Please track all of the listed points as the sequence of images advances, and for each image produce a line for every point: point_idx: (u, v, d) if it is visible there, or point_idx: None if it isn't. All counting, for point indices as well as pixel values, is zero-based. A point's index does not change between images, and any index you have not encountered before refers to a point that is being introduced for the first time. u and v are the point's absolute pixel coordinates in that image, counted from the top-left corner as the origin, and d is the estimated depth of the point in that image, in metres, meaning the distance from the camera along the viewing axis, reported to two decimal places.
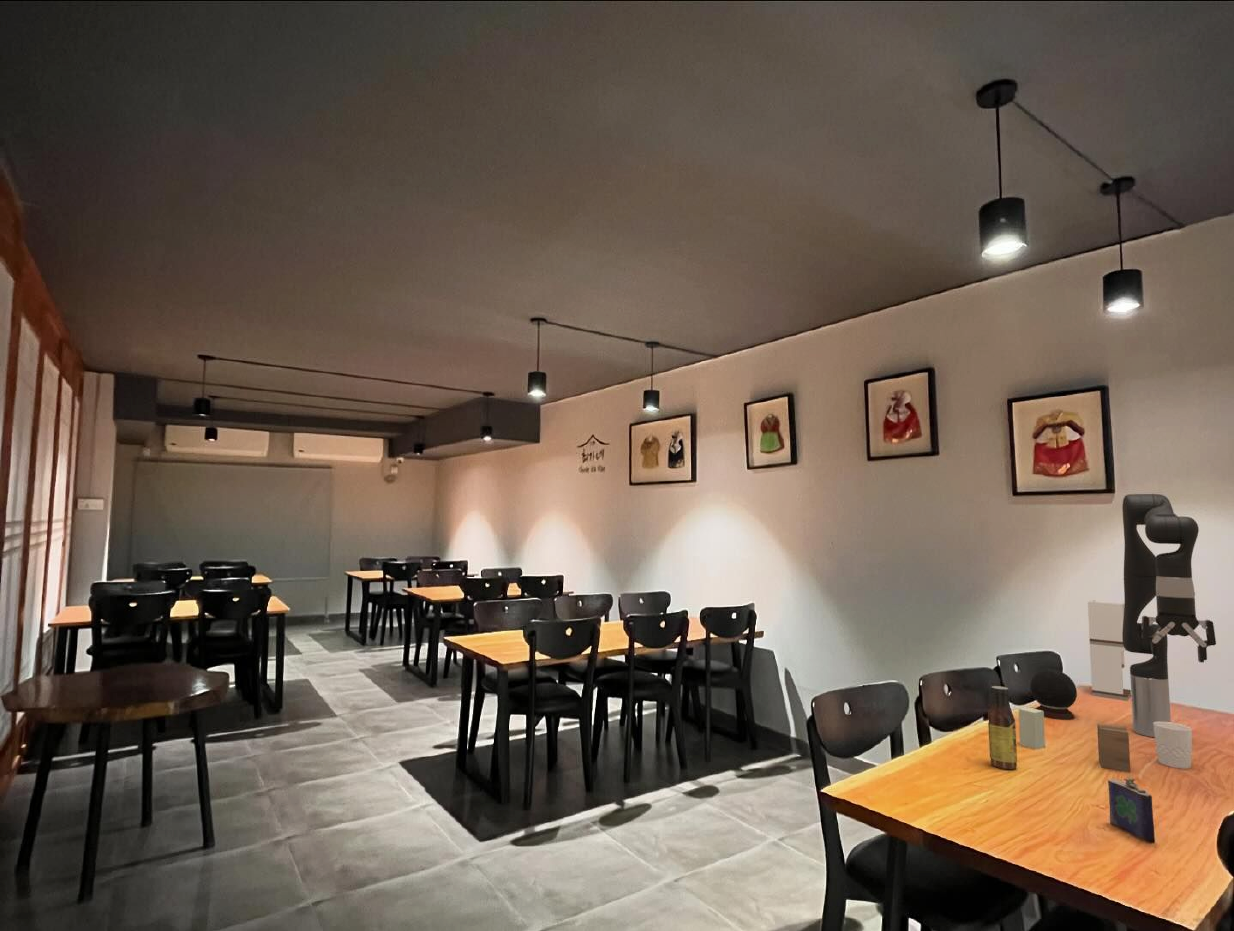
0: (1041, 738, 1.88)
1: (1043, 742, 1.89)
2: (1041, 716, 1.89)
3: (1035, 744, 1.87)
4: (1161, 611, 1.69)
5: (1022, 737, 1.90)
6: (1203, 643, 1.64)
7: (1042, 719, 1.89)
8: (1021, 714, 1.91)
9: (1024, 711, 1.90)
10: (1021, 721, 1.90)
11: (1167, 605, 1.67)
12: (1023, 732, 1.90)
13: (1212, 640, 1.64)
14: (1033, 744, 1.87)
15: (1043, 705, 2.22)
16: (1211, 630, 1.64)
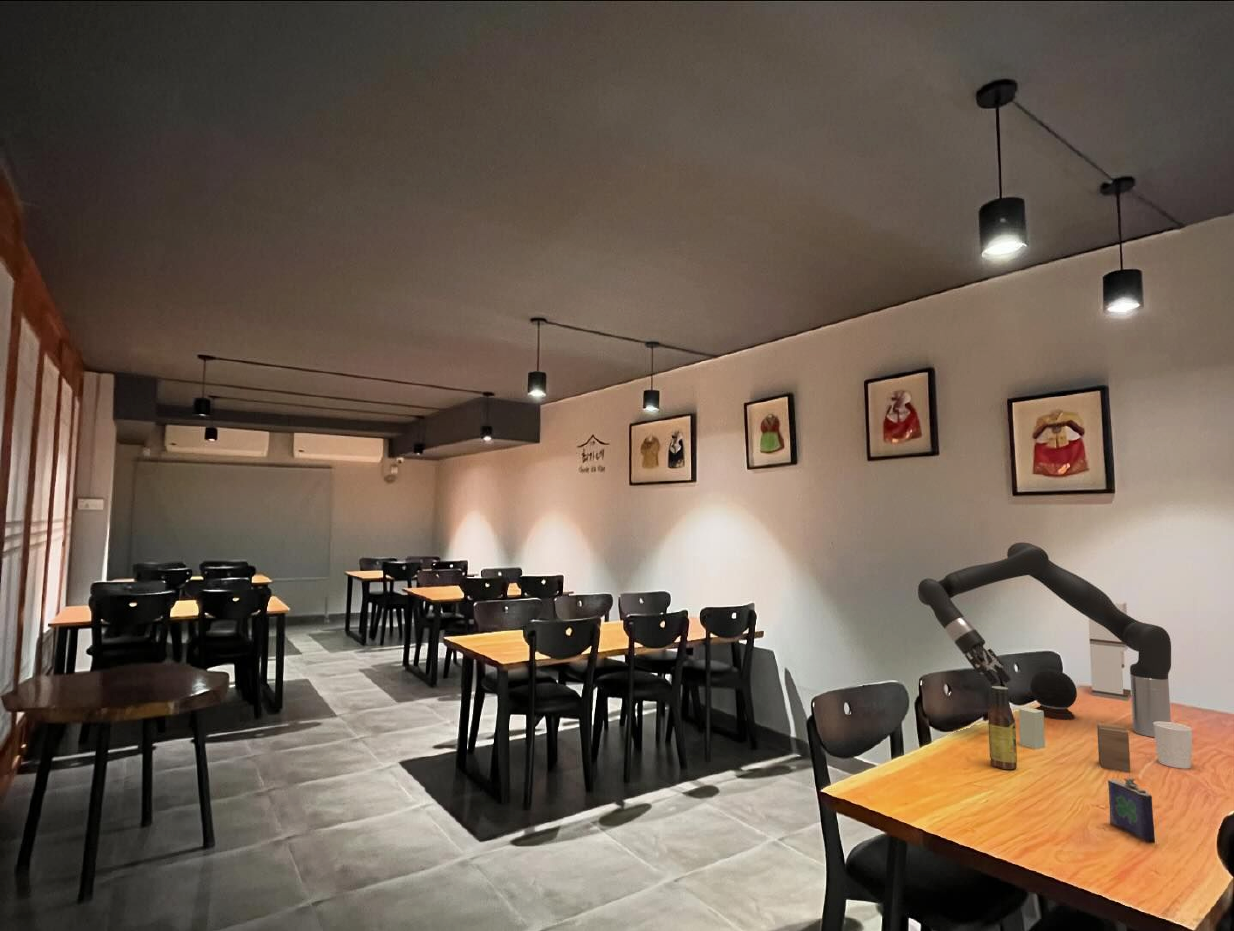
0: (1041, 738, 1.88)
1: (1043, 742, 1.89)
2: (1041, 716, 1.89)
3: (1035, 744, 1.87)
4: None
5: (1022, 737, 1.90)
6: None
7: (1042, 719, 1.89)
8: (1021, 714, 1.91)
9: (1024, 711, 1.90)
10: (1021, 721, 1.90)
11: None
12: (1023, 732, 1.90)
13: None
14: (1033, 744, 1.87)
15: (1043, 705, 2.22)
16: None
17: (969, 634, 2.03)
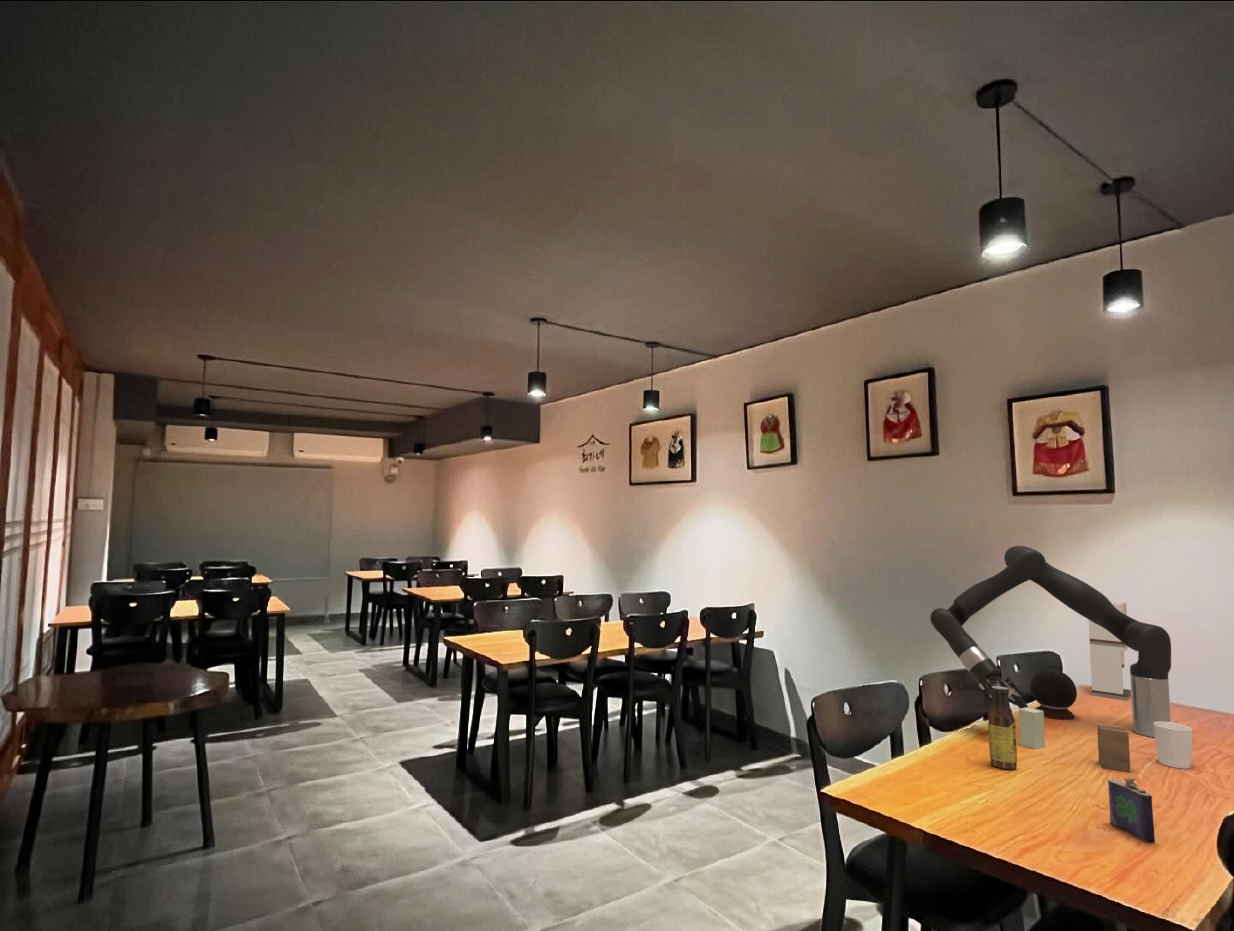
0: (1041, 738, 1.88)
1: (1043, 742, 1.89)
2: (1041, 716, 1.89)
3: (1035, 744, 1.87)
4: None
5: (1022, 737, 1.90)
6: None
7: (1042, 719, 1.89)
8: (1021, 714, 1.91)
9: (1024, 711, 1.90)
10: (1021, 721, 1.90)
11: None
12: (1023, 732, 1.90)
13: None
14: (1033, 744, 1.87)
15: (1043, 705, 2.22)
16: None
17: (982, 664, 2.01)
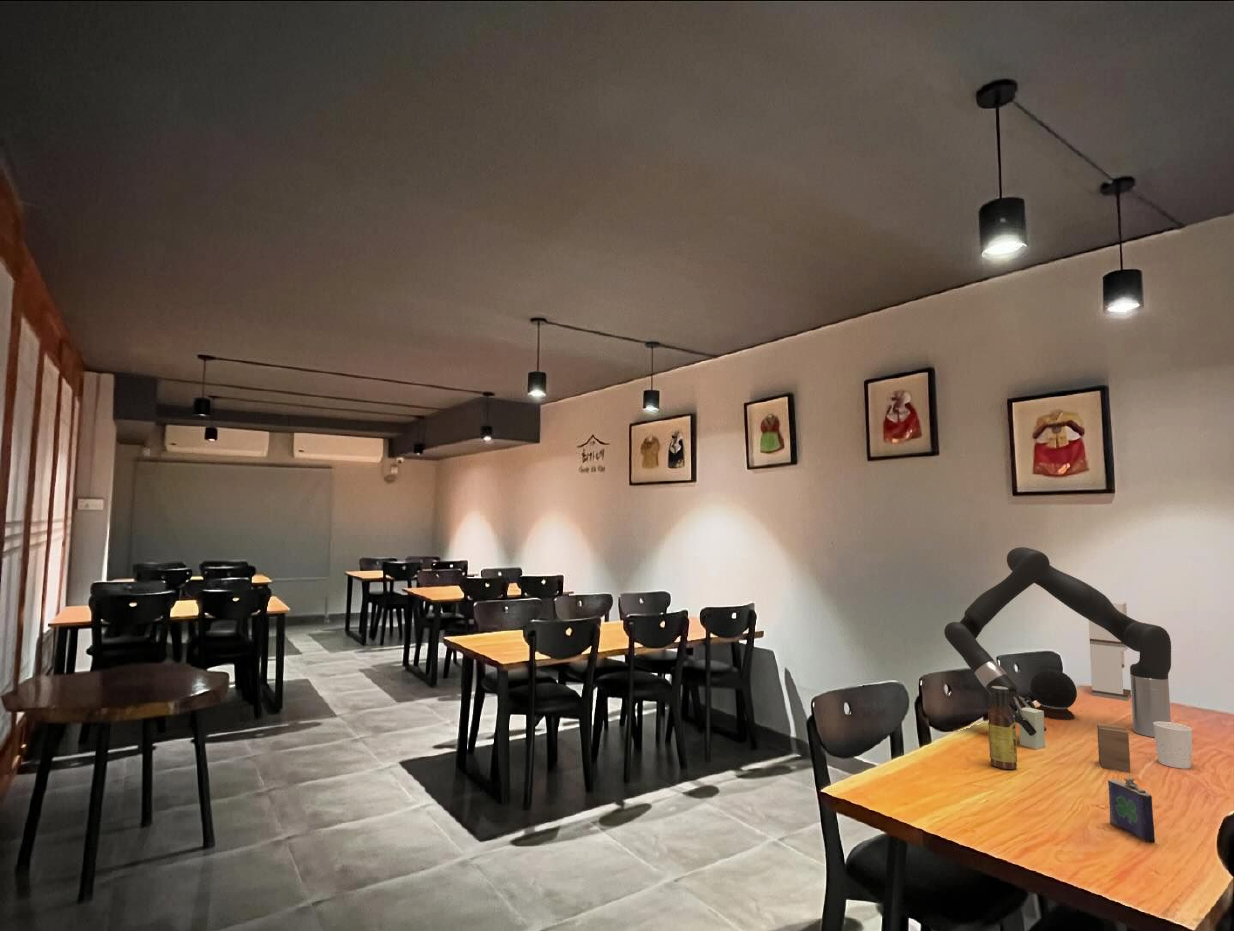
0: (1041, 738, 1.88)
1: (1043, 742, 1.88)
2: (1041, 716, 1.89)
3: (1035, 744, 1.87)
4: None
5: (1022, 737, 1.90)
6: None
7: (1042, 719, 1.89)
8: None
9: (1024, 711, 1.90)
10: None
11: None
12: (1023, 732, 1.90)
13: None
14: (1033, 744, 1.87)
15: (1043, 705, 2.22)
16: None
17: (998, 679, 1.96)
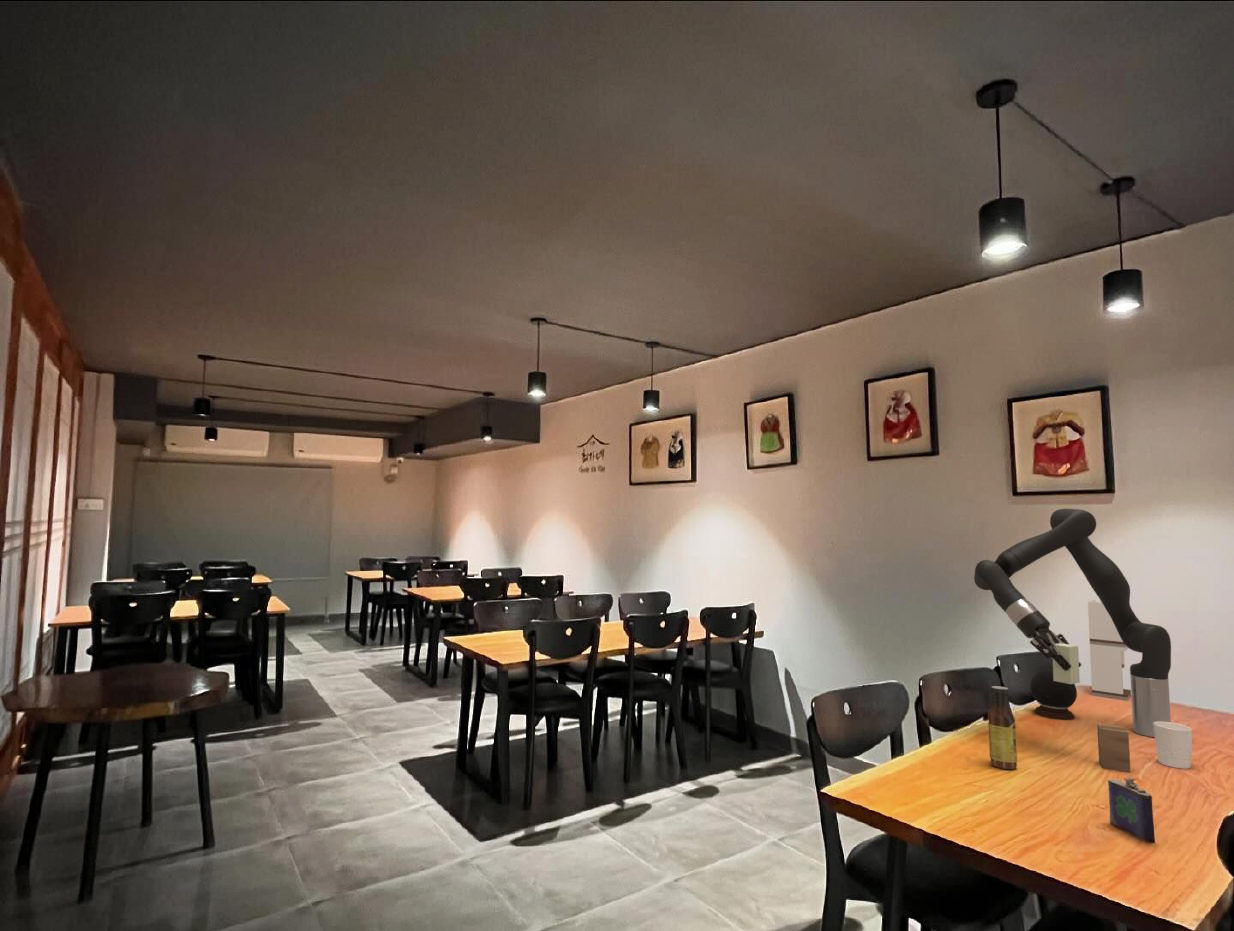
0: (1076, 673, 1.83)
1: (1077, 677, 1.84)
2: (1075, 651, 1.84)
3: (1070, 679, 1.82)
4: None
5: (1056, 673, 1.85)
6: None
7: (1077, 654, 1.84)
8: None
9: (1058, 646, 1.85)
10: None
11: None
12: (1057, 667, 1.85)
13: None
14: (1068, 679, 1.82)
15: (1043, 705, 2.22)
16: None
17: (1031, 616, 1.92)
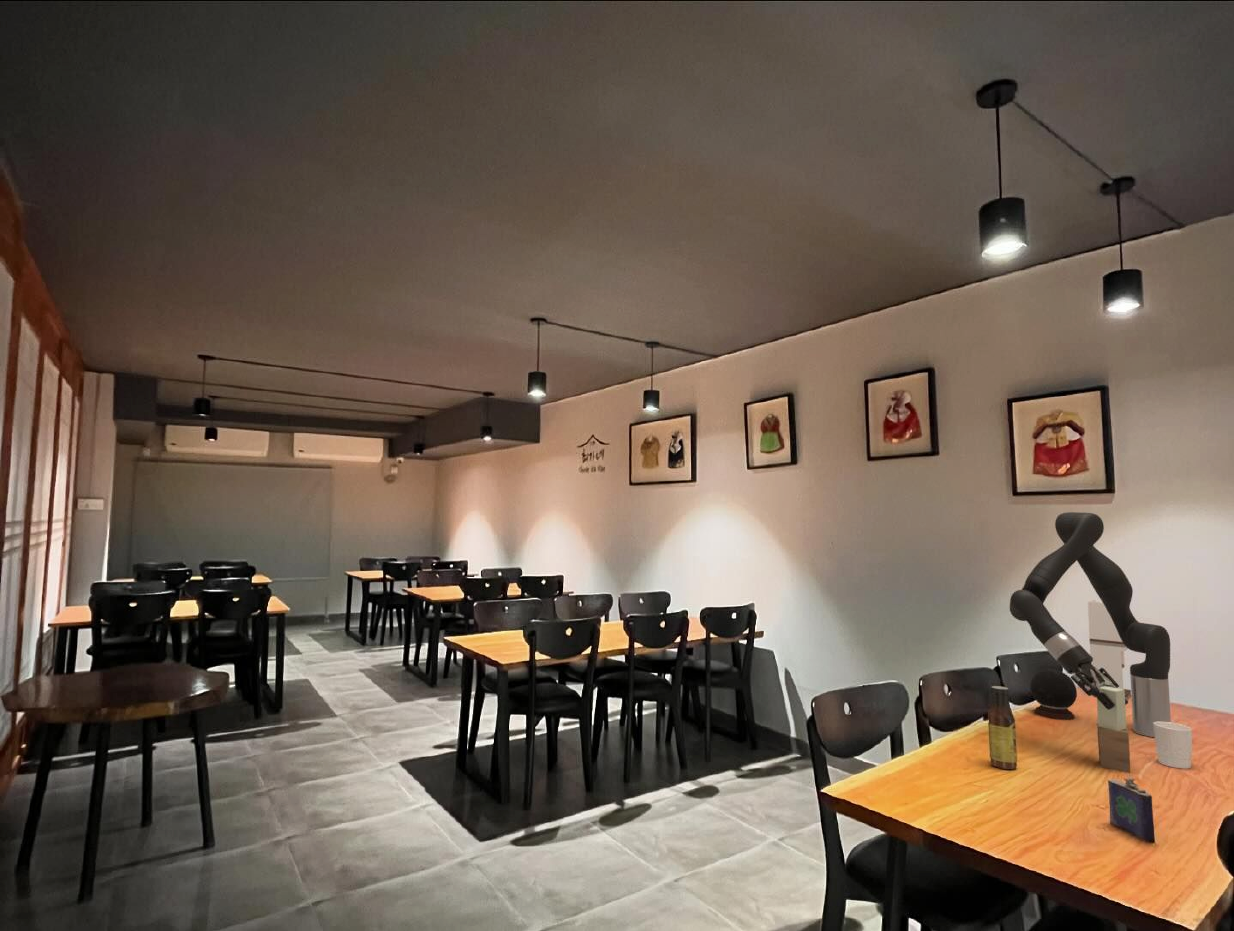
0: (1123, 718, 1.73)
1: (1124, 723, 1.74)
2: (1122, 695, 1.74)
3: (1117, 725, 1.72)
4: None
5: (1101, 718, 1.75)
6: None
7: (1123, 699, 1.74)
8: None
9: (1103, 690, 1.75)
10: None
11: None
12: (1102, 712, 1.75)
13: None
14: (1114, 725, 1.72)
15: (1043, 705, 2.22)
16: None
17: (1072, 651, 1.81)
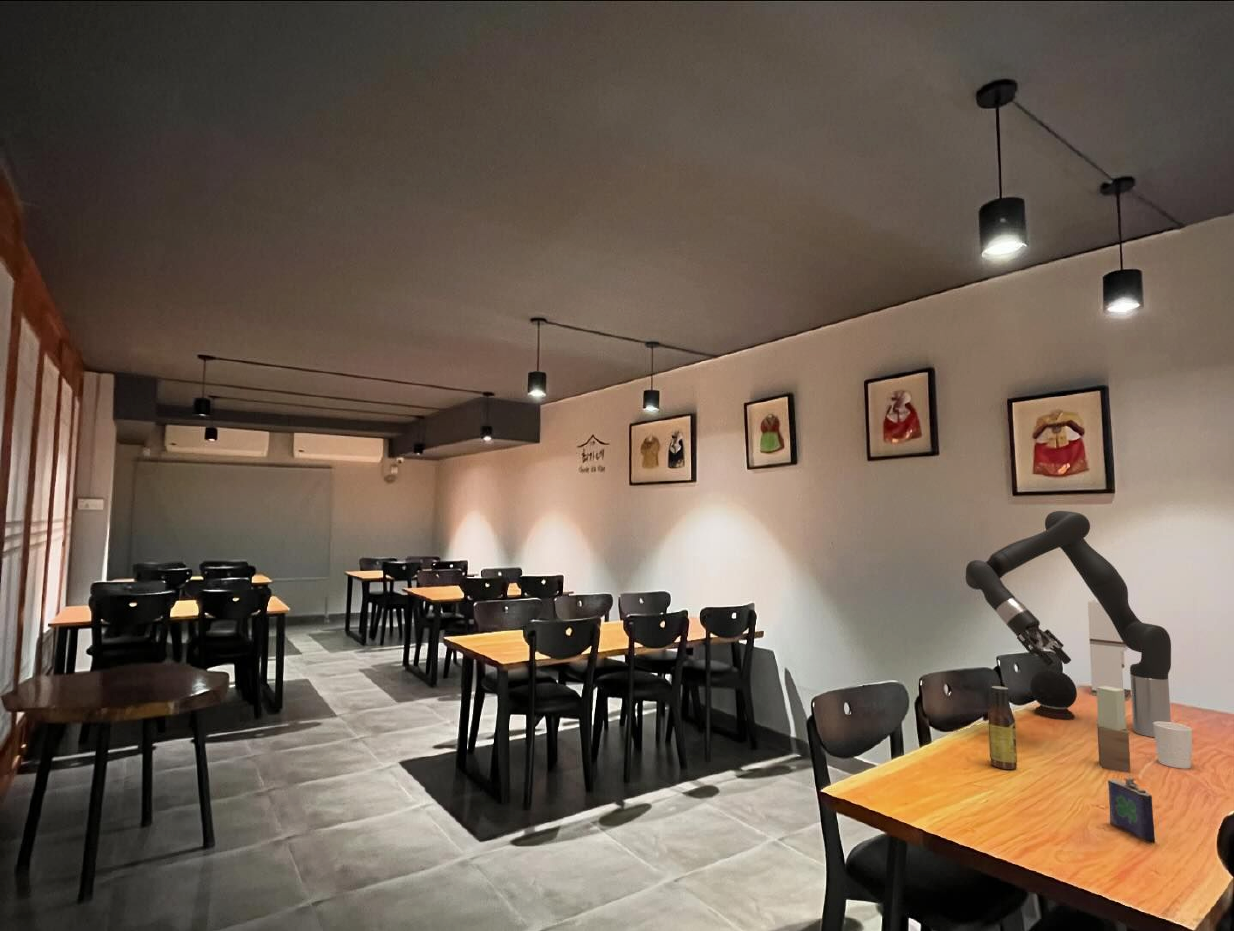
0: (1122, 718, 1.73)
1: (1124, 723, 1.74)
2: (1122, 695, 1.74)
3: (1117, 725, 1.72)
4: None
5: (1101, 718, 1.75)
6: None
7: (1123, 699, 1.74)
8: (1100, 693, 1.76)
9: (1103, 690, 1.75)
10: (1100, 700, 1.75)
11: None
12: (1102, 712, 1.75)
13: None
14: (1114, 725, 1.72)
15: (1043, 705, 2.22)
16: None
17: (1021, 615, 1.94)
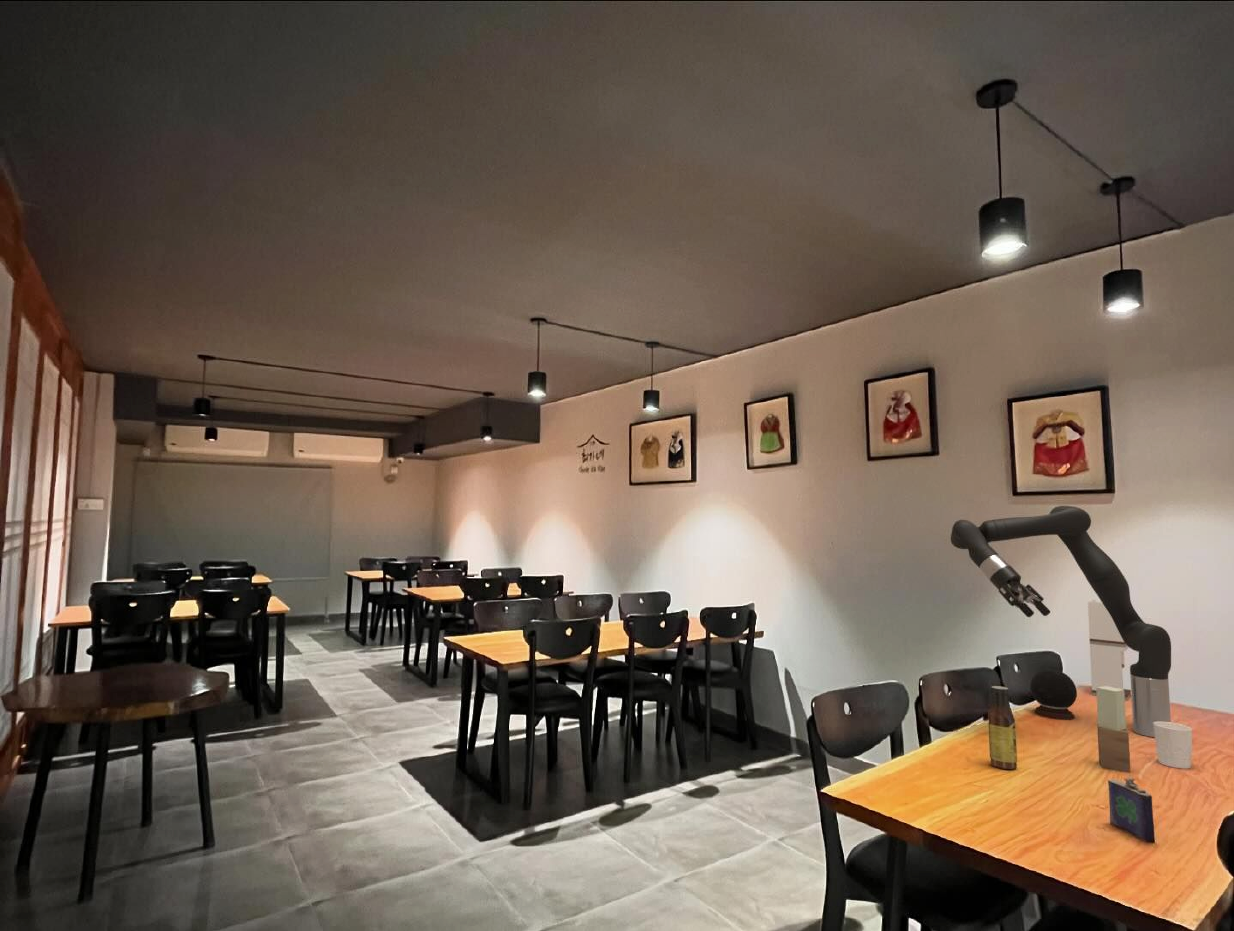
0: (1122, 718, 1.73)
1: (1124, 723, 1.74)
2: (1122, 695, 1.74)
3: (1117, 725, 1.72)
4: None
5: (1101, 718, 1.75)
6: None
7: (1123, 699, 1.74)
8: (1099, 693, 1.76)
9: (1103, 690, 1.75)
10: (1099, 701, 1.75)
11: None
12: (1102, 712, 1.75)
13: None
14: (1114, 725, 1.72)
15: (1043, 705, 2.22)
16: None
17: (1003, 570, 2.03)
